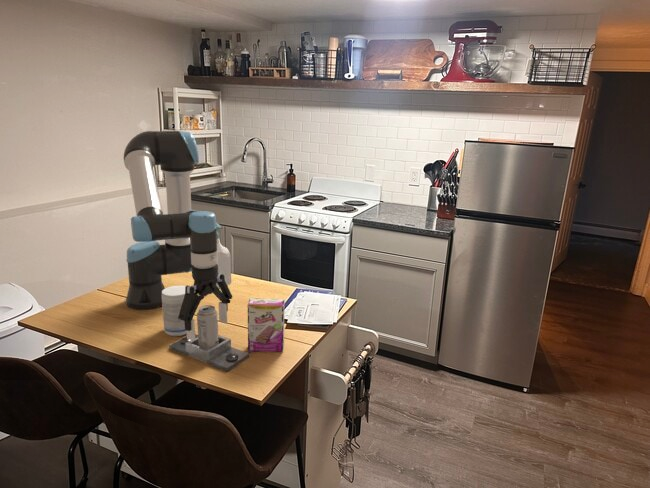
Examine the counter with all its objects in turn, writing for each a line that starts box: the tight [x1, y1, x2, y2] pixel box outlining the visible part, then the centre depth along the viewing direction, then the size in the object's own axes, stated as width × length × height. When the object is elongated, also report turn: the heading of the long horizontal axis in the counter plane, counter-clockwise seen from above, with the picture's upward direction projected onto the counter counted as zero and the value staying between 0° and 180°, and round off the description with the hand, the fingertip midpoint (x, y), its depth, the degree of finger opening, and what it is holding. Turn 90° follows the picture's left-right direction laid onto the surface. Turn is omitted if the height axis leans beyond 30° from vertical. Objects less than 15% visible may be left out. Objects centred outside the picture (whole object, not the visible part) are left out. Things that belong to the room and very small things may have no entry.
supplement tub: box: [161, 285, 194, 337], centre depth 157 cm, size 10×10×15 cm
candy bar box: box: [247, 297, 286, 353], centre depth 146 cm, size 11×5×16 cm, turn 91°
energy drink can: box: [196, 304, 219, 350], centre depth 143 cm, size 6×6×15 cm
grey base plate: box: [168, 333, 250, 372], centre depth 144 cm, size 24×10×4 cm, turn 59°
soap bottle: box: [216, 222, 232, 289], centre depth 195 cm, size 11×8×27 cm
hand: (207, 330), depth 143 cm, fingers open, 13 cm apart
